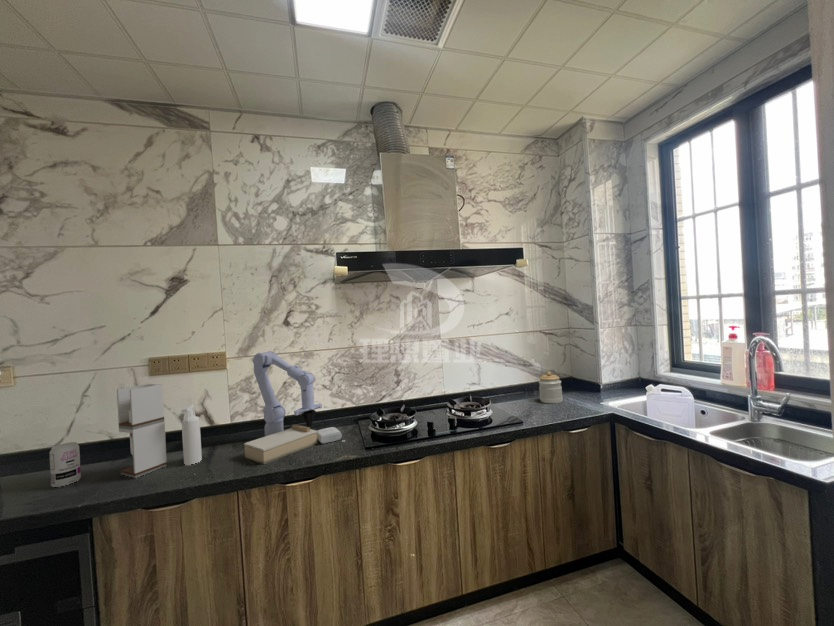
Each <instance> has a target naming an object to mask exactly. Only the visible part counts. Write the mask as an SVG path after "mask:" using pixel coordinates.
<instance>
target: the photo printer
mask: <svg viewBox="0 0 834 626" xmlns="http://www.w3.org/2000/svg"><path fill="white" fill-rule="evenodd" d="M316 431H317V432H316V433H317V442H319V443H320V444H328V443H332V442H336V441H339V440H342V437H343V436H342V435H343V434H342V433H341V431H340V430H339V429H338V428H336V426H335V427H334V426H331V427H326V428H321V429H318V430H316Z"/></svg>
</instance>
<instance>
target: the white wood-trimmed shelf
mask: <svg viewBox="0 0 834 626" xmlns="http://www.w3.org/2000/svg"><path fill="white" fill-rule="evenodd" d="M116 399H117V401H116V402H117V419H118V421H117V422H118V432H121V433H125V434H127V433H128V434H129V445H130V454H131V455H132V457H133V458H132V459H133V460H132V461H133V462H132V463H133V465H131V466H130V467H127V468H124V469H121V470H120V475H121V476H122V475H125V476H124V477H126V476H129V477H128V478H130V477H133V478H132V479H134V478H136V479H138V478H137V477H139V478H141V477H140V476H142V475H144V476H146V475H145V474H147V473H150V472H152V471H155V470H157V469H160V468H162V467H165V466H167V467H168V463H167V461H168V460H167V446H166V445H167V444H166V428H165V427H166V425H165V424H166V423H165V407H164V404H165V403H164V388H163V383H146V384H141V385H134V386H133V385H132V386H128V387H123V388H122V387H121V388H117V389H116ZM165 468H166V467H165ZM160 470H161V469H160ZM157 471H158V470H157ZM155 472H156V471H155ZM152 473H153V472H152ZM150 474H151V473H150ZM147 475H148V474H147ZM142 477H143V476H142Z"/></svg>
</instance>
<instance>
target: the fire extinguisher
mask: <svg viewBox="0 0 834 626" xmlns="http://www.w3.org/2000/svg"><path fill="white" fill-rule="evenodd" d="M194 408H195V407H194V404H193V403H189V404H186V405H185V407H183V408H182V409H181V413H184V415H183V419H182V421H181V433H182V434H181V436H182V437H181V438H182V450H183V451H182V454H183V465H184V464H185V465H184V466H192V465H191V464H194V465H196V464H195V463H197V464H199V463H201V462H202V461H203V458H202V456H203V453H202V440H201V439H202V436H201V422H200V418H199V416H196V411H195V410H194ZM201 460H202V461H201ZM200 461H201V462H200ZM198 462H199V463H198Z"/></svg>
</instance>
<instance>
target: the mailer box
mask: <svg viewBox="0 0 834 626" xmlns="http://www.w3.org/2000/svg"><path fill="white" fill-rule="evenodd" d="M317 444H318V440H317V433H313V434H311V435H308V436H305V437H302V438H299V439H297V440H294V441H291V442H288V443H285V444H283V445H280V446H277V447H274V448H272V449H269V450H266V451H261V450H258V449H255V448H252V447H249V446H246V445H244V457H245V458H246V459H249V460H251V461H253V462H256V463H259V464H262V465H266V464H269V463H272V462H274V461H277V460H279V459H282V458H284V457H287V456H289V455H292V454H294V453H298V452H300V451H302V450H305V449H308V448H310V447H313V446H314V445H317Z"/></svg>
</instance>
